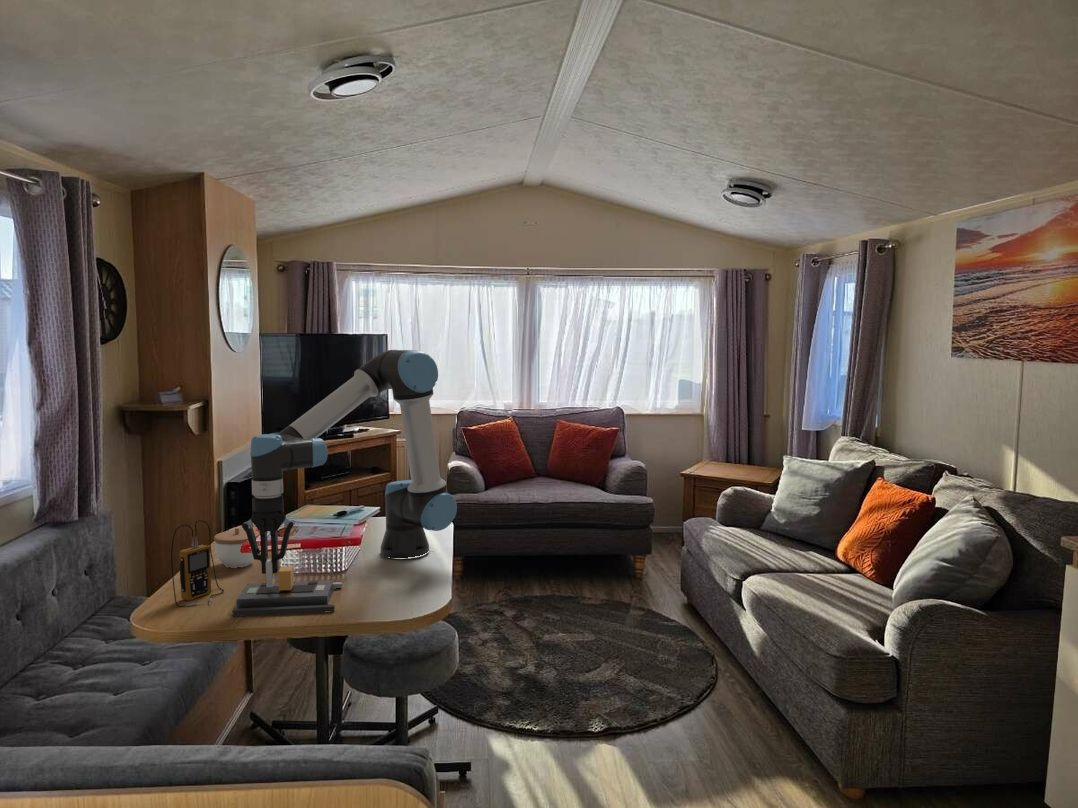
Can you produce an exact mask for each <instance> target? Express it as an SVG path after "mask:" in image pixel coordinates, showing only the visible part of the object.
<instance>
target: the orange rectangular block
mask: <svg viewBox="0 0 1078 808" xmlns="http://www.w3.org/2000/svg"><path fill="white" fill-rule="evenodd" d="M277 573H278V583H279V591H280V590H291V589H292V587H293V586H294V582H295V580H294V577H295V576H294V566H293V565H292V566H290V565H289V566H281V567H280V568H279V569H278V572H277Z"/></svg>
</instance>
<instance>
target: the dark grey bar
mask: <svg viewBox="0 0 1078 808" xmlns="http://www.w3.org/2000/svg"><path fill="white" fill-rule="evenodd" d="M335 608H336V607H335V604H328V605H315V606H292V607H268V608H245V609H237V608H234V609H233V610H232V617H252V616H253V617H255V616H275V615H277V616H279V615H299V614H301V613H302V614H316V613H315V612H325V611H334V612H335V610H334V609H335ZM325 613H326V612H325Z"/></svg>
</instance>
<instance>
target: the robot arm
mask: <svg viewBox="0 0 1078 808" xmlns="http://www.w3.org/2000/svg"><path fill="white" fill-rule="evenodd" d="M438 380H439V368H438V365H437V363H436V362H435V360H434V359H433V357H432V356H431V355H429V354H428V353H426V352H423V351H419V350H416V349H415V350H414V349H388V350H386V351H382V352H380V353H379V354H377V355H376V356H374V357H372V358H371V359H369V360H368V361H367V362H365V363H363V364H362V365H361V366H359V368H357V369H356V370H354V373H353V376H352V377H351V378H350V379H348V380H347V381H346V382H344V383H343V384H342V385H340V386H339V387H338V388H337V389H335V390H334V391H333V392H331V393H330V394H328V395H327V396H326V397H325V398H324V399H322V400H321V401H319V402H317V404H315V405H314V406H313V407H311V408H310V409H309V410H308V411H306V412H305V413H303V414H302V415H301V416H300V417H298V418H297V419H296V420H295V421H293V422H292V423H291V424H289V425H288V426H286V427H285V428H283V429H282V430H281V431H280V432H273V433H268V434H267V433H265V434H264V433H263V434H256V435H254V436H253V437H251V440H250V453H249V454H250V463H251V464H250V465H251V495H252V496H253V497H252V498H251V501H252V514H251V516H250V519H249V520H247V521H245V522H243V523H242V524H241V528H242V529H244V530H245V532H246V534H247V537H248V541H249V544H250V547H251V551H252V554H253V558H254V560H255V561H259V562H260V563H261V573H262V575H263V574H265V583H266V587H273V585H274V584H275V583H276V582H275V574H277V573H278V571H279V560H282V559H284V558H285V556H286V554H287V549H288V545H289V540H290V536H291V531H292V529H293V527H294V525H295V524H296V521H295V520H293V519H290V518H287V515H286V513H285V509H284V505H285V503H284V500H285V499H284V495H283V493H284V476H283V475H284V471H289V470H295V469H296V470H297V469H305V468H315V467H320V466H323V465H325V463H326V462H327V460H328V455H329V454H328V452H329V451H328V446H327V444H326V442H325V440H324V439H323V438H320V436H322V435H323V433H325V432H326V431H328V430H329V429H330V428H331V427H332V426H334V425H335V424H336V423H338V422H339V421H341V420H342V419H344V418H345V416H347V415H348V414H349V413H351V412H352V411H353V410H355V409H356V408H357V407H359V406H360V405H361V404H362V403H364V402H365V401H366V400H368V399H369V398H370V397H371V398H374V397H377V396H378V395H379V394H381V393H382V392H385V391H387V390H392V397H393V401H395V402H396V403H397V404H399V408H400V413H401V414H400V415H401V420H402V428H403V432H404V442H405V447H406V448H405V449H406V455H407V461H408V468H409V472H410V479H406V480H397V481H396V480H395V481H391V482H388V483H387V484H386V485H385V491H384V493H385V494H384V497H385V531H384V534H383V538H382V541H381V543H380V544H381V545H380V555H381V556H382V555H383V556H384V557H383V556H382V557H383V558H385V557H390V558H408V557H415V556H420V555H423V554H425V553H427V552H428V551H429V552H430V544H429V541H428V538H427V535H426V532H425V530H427V531H434V532H439V531H443V530H445V529H447V528H448V527H449V526H450V525H451V524H452V523H453V520H454V519H455V518H456V516H457V511H458V510H457V509H458V506H457V504H458V503H457V500H456V499H455V497H454V496H452V494H450V493H448V486H447V482H446V480H445V479H443V478H441V474H440V467H439V460H438V459H439V458H438V452H437V444H436V439H435V438H436V437H435V431H434V424H433V417H432V410H431V402H430V400H431V399H432V396H433V395H434V389H433V388H434V387H435V386H436V385H437V383H436V382H438ZM283 523H284V525H283ZM282 525H283V527H284V528H285V529H284V532H283V536H282V541H281V544H280V550H279V537H278V535H279V534H278V533H279V529H280V527H281V526H282ZM254 526H255V527H256V528H257V529H258V532H259V533H260V537H259V543H260V547H259V548H258V544H257V541H256V537H255V534H254V530H255V529H254V528H253V527H254ZM268 532H269V534H270V550H271V559H268V558H269V555H268V554H269V551H268V550H269V549H268V546H269V545H268Z"/></svg>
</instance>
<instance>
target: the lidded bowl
mask: <svg viewBox="0 0 1078 808" xmlns="http://www.w3.org/2000/svg"><path fill="white" fill-rule="evenodd" d="M253 530H254V534H255V537H256V536H258V535H260V531H259V530H258V531H257V530H255V529H253ZM213 540H214V541H213V542H214V549H215V554H216V556H217V559H218V560H219V562H221V563H222V564H223V565H224V566H226V568H228V567H231V568H230V569H238V568H237V567H241V568H245V567H248V566H250V565H251V564H252V562H253V561H254V560H255V559H254V558H253V554H252V553H241V552H240V549H241V546H242V544H243V543H244V542H246V541H247V540H248V537H247V534H246V532H245V530H244V529H243V528H242V529H240V528H239V527H235V528H234V529H233V530H226V531H222V532H220V533H216V534H215V535H214V536H213Z"/></svg>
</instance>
